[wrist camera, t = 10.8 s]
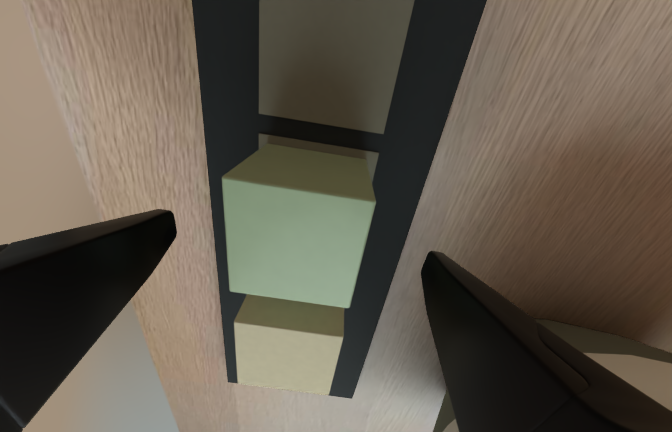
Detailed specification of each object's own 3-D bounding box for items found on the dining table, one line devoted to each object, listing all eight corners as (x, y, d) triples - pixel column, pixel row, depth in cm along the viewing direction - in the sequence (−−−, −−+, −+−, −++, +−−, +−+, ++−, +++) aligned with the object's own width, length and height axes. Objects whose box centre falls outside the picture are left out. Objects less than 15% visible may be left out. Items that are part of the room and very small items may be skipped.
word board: (232, 369, 21) (198, 455, 16) (199, -77, 9) (9, -281, 4) (352, 385, 21) (352, 474, 16) (484, -23, 9) (643, -149, 4)
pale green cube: (264, 229, 13) (228, 292, 9) (266, 142, 11) (220, 176, 7) (349, 242, 13) (349, 309, 9) (367, 158, 11) (376, 200, 7)
